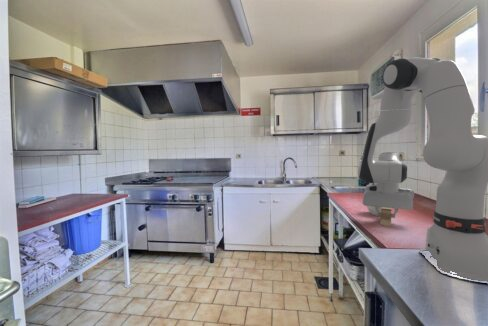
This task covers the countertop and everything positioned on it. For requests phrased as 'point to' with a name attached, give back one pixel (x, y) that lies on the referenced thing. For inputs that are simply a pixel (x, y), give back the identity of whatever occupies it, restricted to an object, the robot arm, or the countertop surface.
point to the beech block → (385, 216)
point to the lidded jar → (373, 210)
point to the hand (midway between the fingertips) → (386, 216)
